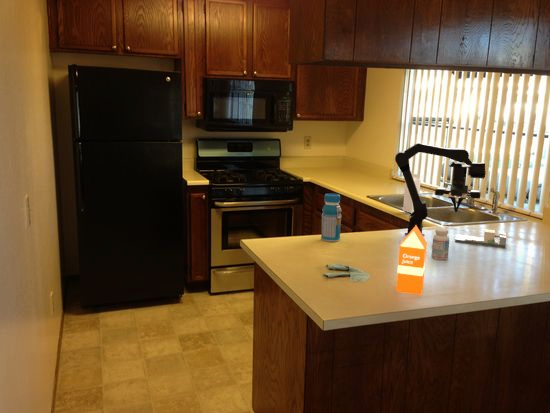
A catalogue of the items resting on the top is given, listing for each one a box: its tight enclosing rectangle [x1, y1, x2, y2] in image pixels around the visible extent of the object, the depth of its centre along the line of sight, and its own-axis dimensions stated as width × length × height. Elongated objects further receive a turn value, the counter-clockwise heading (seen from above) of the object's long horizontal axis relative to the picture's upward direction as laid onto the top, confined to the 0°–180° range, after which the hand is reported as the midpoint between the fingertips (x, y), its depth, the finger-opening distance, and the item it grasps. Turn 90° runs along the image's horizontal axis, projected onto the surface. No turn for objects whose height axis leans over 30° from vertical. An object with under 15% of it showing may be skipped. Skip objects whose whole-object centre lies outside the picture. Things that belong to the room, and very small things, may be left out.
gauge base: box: [454, 231, 507, 249], centre depth 216 cm, size 20×10×4 cm, turn 66°
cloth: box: [322, 262, 371, 283], centre depth 172 cm, size 20×22×2 cm
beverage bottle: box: [320, 193, 342, 243], centre depth 214 cm, size 8×8×20 cm
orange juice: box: [396, 226, 428, 296], centre depth 156 cm, size 8×9×20 cm
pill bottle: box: [431, 228, 450, 261], centre depth 191 cm, size 6×6×11 cm
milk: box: [402, 173, 422, 213], centre depth 276 cm, size 6×6×22 cm
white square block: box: [483, 228, 500, 241], centre depth 212 cm, size 8×8×4 cm
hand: (456, 212), depth 220 cm, fingers closed
